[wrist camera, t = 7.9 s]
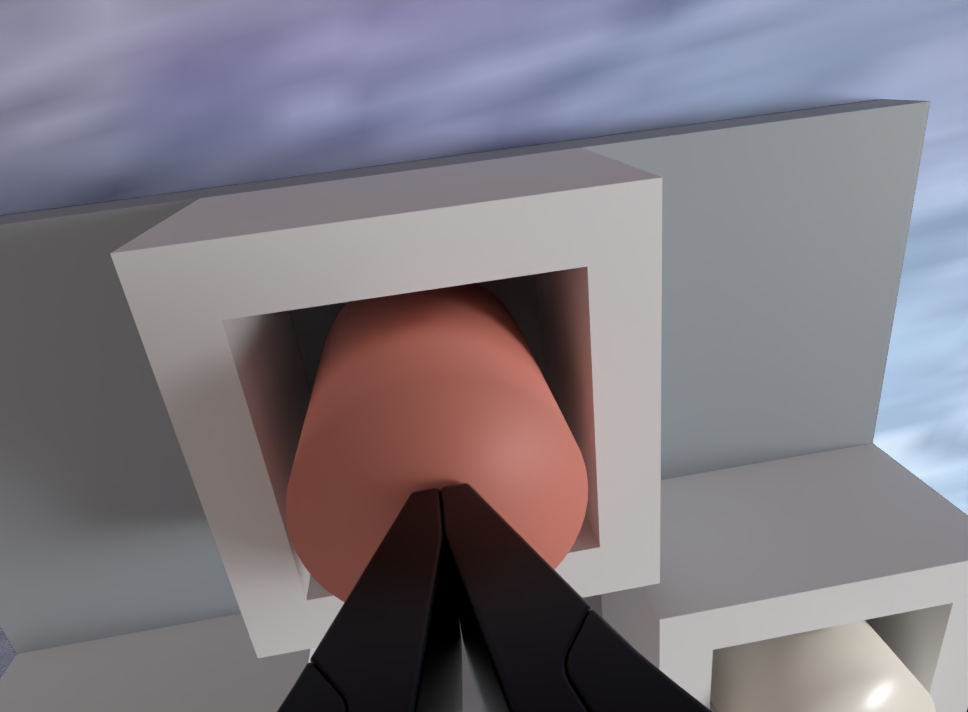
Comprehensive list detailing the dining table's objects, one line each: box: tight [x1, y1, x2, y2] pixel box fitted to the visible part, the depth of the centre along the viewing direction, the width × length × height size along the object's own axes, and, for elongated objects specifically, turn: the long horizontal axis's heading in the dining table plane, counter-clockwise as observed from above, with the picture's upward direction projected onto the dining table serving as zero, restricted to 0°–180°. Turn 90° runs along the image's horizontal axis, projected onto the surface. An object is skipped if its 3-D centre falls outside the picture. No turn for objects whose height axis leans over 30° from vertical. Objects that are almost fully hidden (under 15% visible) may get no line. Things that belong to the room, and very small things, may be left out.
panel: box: [0, 99, 968, 712], centre depth 16 cm, size 20×24×6 cm
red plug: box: [285, 283, 588, 602], centre depth 11 cm, size 4×4×5 cm
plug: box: [710, 620, 935, 712], centre depth 17 cm, size 4×4×5 cm
